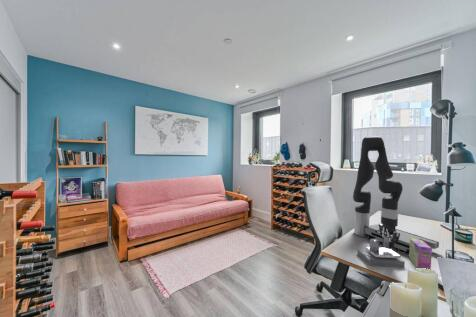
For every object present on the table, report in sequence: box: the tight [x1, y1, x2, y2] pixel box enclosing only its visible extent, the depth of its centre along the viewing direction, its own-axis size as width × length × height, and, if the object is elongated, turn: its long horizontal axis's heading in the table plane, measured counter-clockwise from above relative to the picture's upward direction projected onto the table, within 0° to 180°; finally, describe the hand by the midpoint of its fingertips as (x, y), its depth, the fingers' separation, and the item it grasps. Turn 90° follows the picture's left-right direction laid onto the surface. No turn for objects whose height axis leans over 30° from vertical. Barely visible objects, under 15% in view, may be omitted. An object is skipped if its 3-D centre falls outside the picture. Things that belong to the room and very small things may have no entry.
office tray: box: [365, 222, 440, 256], centre depth 131 cm, size 21×32×8 cm, turn 25°
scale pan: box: [365, 246, 401, 259], centre depth 112 cm, size 9×13×1 cm
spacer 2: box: [382, 235, 392, 249], centre depth 111 cm, size 4×4×6 cm
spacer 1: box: [369, 239, 380, 253], centre depth 112 cm, size 4×4×6 cm
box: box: [408, 238, 433, 270], centre depth 109 cm, size 10×6×12 cm, turn 158°
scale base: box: [357, 248, 406, 268], centre depth 112 cm, size 12×18×4 cm, turn 87°
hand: (388, 246), depth 111 cm, fingers closed on spacer 2, 4 cm apart
